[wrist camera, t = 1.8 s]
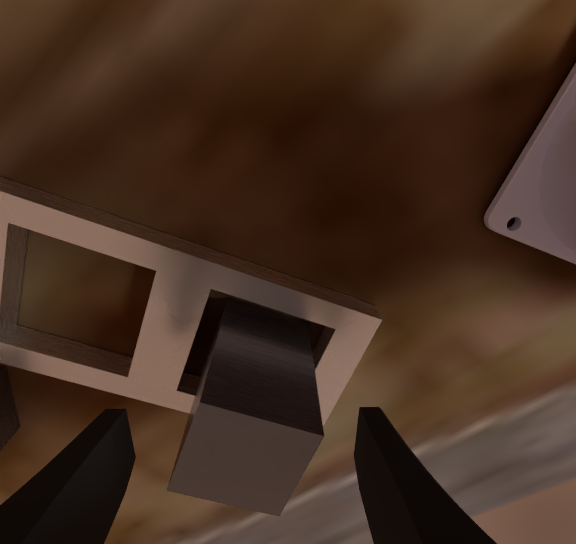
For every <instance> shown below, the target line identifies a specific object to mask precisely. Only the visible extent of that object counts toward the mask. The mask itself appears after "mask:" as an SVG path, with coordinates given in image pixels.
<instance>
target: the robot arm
mask: <svg viewBox="0 0 576 544" xmlns="http://www.w3.org/2000/svg"><path fill="white" fill-rule="evenodd" d="M513 217H515V222H514V224H513V225H512V226H511V227H509V228H507V223H508V221H509V220H510V219H511V218H513ZM484 223H485V225H486V227H488V228H489V229H491V230H492V231H494V232H497V233H499V234H502V235H504V236H507V237H509V238H512V239H514V240H517V241H519V242H522V243H524V244H527V245H529V246H532V247H534V248H537V249H539V250H542V251H544V252H546V253H549V254H551V255H554V256H556V257H559V258H561V259H564V260H566V261H569V262H571V263H574V264H576V63H575V65H574V66H573V68H572V70H571V71H570V73H569V75H568V76H567V78H566V80H565V81H564V83H563V85H562V86H561V88H560V90H559V91H558V93H557V95H556V96H555V98H554V100H553V101H552V103H551V105H550V106H549V108H548V110H547V111H546V113H545V115H544V116H543V118H542V120H541V121H540V123H539V125H538V126H537V128H536V130H535V131H534V133H533V135H532V136H531V138H530V140H529V141H528V143H527V145H526V146H525V148H524V150H523V151H522V153H521V155H520V156H519V158H518V160H517V161H516V163H515V164H514V166H513V168H512V169H511V171H510V173H509V174H508V176H507V178H506V179H505V181H504V183H503V184H502V186H501V188H500V189H499V191H498V193H497V194H496V196H495V198H494V199H493V201H492V203H491V204H490V206H489V208H488V209H487V211H486V213H485V216H484ZM135 458H136V457H135V452H134V447H133V442H132V437H131V432H130V427H129V422H128V417H127V412H126V409H105V410H104V411H103V412H102V413H101V414H100V415H99V416H98V417H97V418H96V419H95V420H94V421H93V422H91V423H90V424H89V425H88V426H87V427H86V428H85V429H84V430H83V431H82V432H81V433H80V434H79V435H78V436H77V437H76V438H75V439H74V440H73V441H72V442H71V443H70V444H69V445H67V446H66V447H65V448H64V449H63V450H62V451H61V452H60V453H59V454H58V455H57V456H56V457H55V458H54V459H52V460H51V461H50V462H49V463H48V464H47V465H46V466H45V467H44V468H43V469H42V470H41V471H39V472H38V473H37V474H36V475H35V476H34V477H33V478H31V479H30V480H29V481H28V482H27V483H26V484H25V485H23V486H22V487H21V488H20V489H19V490H18V491H16V492H15V493H14V494H13V495H12V496H11V497H10V498H8V499H7V500H6V501H5V502H4V503H2V504H1V505H0V544H104V542H105V540H106V538H107V535H108V533H109V530H110V528H111V526H112V523H113V521H114V519H115V516H116V514H117V512H118V509H119V507H120V504H121V502H122V499H123V497H124V495H125V492H126V489H127V485H128V482H129V479H130V476H131V472H132V469H133V465H134V462H135ZM354 459H355V465H356V472H357V478H358V484H359V490H360V494H361V497H362V501H363V505H364V509H365V513H366V516H367V520H368V524H369V527H370V531H371V535H372V539H373V542H374V544H497V543H496V542H495V541H494V540H493V539H491V538H490V537H489V536H488V535H487V534H486V533H485V532H484V531H483V530H482V529H481V528H480V527H479V526H478V525H477V524H476V523H475V522H474V521H473V520H472V519H471V518H470V517H469V516H468V515H467V514H466V513H465V512H464V511H463V510H462V509H461V508H460V507H459V506H458V505H457V503H456V502H455V501H454V500H453V499H452V498H451V497H450V496H449V495H448V494H447V493H446V491H445V490H444V489H443V488H442V487H441V486H440V485H439V483H438V482H437V481H436V480H435V479H434V478H433V477H432V475H431V474H430V473H429V472H428V471H427V469H426V468H425V467H424V466H423V464H422V463H421V462H420V461H419V459H418V458H417V457H416V456H415V454H414V453H413V452H412V451H411V449H410V448H409V447H408V445H407V444H406V443H405V442H404V440H403V439H402V437H401V436H400V435H399V433H398V432H397V431H396V429H395V428H394V427H393V425H392V424H391V422H390V421H389V419H388V418H387V417H386V415H385V414H384V412H383V411H382V410H381V409H380V408H379V407H360V408H359V416H358V425H357V433H356V442H355V450H354Z"/></svg>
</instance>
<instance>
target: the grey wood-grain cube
mask: <svg viewBox="0 0 576 544" xmlns="http://www.w3.org/2000/svg"><path fill="white" fill-rule="evenodd" d="M19 428H20V423H19V419H18V414H17V410H16V406H15V402H14V397H13V393H12V389H11V385H10V380H9V376H8V372H7V368H6V366H0V451H1V450H2V448H3V447H4V446H5V445H6V444H7V442H8V441H9V440H10V439H11V437H12V436H13V435H14V434H15V433H16V431H17V430H18V429H19Z"/></svg>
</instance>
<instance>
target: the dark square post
mask: <svg viewBox="0 0 576 544" xmlns="http://www.w3.org/2000/svg"><path fill="white" fill-rule="evenodd" d="M323 437H324V432H323V424H322V417H321V410H320V403H319V396H318V389H317V382H316V374H315V367H314V360H313V353H312V346H311V339H310V332H309V324H308V322H306V321H303V320H299V319H296V318H293V317H290V316H287V315H284V314H281V313H278V312H275V311H272V310H268V309H265V308H262V307H259V306H256V305H253V304H250V303H247V302H244V301H241V300H238V299H234V298H231V297H228V299H227V302H226V305H225V308H224V310H223V313H222V316H221V319H220V322H219V324H218V327H217V330H216V333H215V335H214V338H213V341H212V344H211V347H210V349H209V352H208V355H207V358H206V361H205V363H204V367H203V370H202V374H201V377H200V380H199V384H198V387H197V390H196V394H195V397H194V400H193V404H192V407H191V411H190V414H189V417H188V421H187V424H186V427H185V431H184V434H183V438H182V441H181V444H180V448H179V451H178V454H177V458H176V461H175V465H174V468H173V471H172V475H171V478H170V481H169V485H168V488H167V491H171V492H175V493H180V494H184V495H188V496H193V497H197V498H201V499H206V500H210V501H214V502H219V503H223V504H228V505H232V506H236V507H241V508H245V509H249V510H254V511H258V512H262V513H267V514H271V515H275V516H280V514H281V512H282V511H283V509H284V507H285V505H286V504H287V502H288V500H289V498H290V496H291V495H292V493H293V491H294V489H295V487H296V486H297V484H298V482H299V480H300V479H301V477H302V475H303V473H304V471H305V470H306V468H307V466H308V464H309V462H310V461H311V459H312V457H313V455H314V454H315V452H316V450H317V448H318V446H319V445H320V443H321V441H322V439H323Z"/></svg>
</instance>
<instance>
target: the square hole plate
mask: <svg viewBox="0 0 576 544" xmlns="http://www.w3.org/2000/svg"><path fill="white" fill-rule="evenodd" d="M28 229H29V230H32V231H35V232H38V233H41V234H44V235H47V236H51V237H54V238H57V239H60V240H63V241H66V242H69V243H72V244H75V245H78V246H81V247H84V248H87V249H90V250H94V251H97V252H100V253H103V254H106V255H109V256H112V257H115V258H118V259H121V260H124V261H127V262H130V263H134V264H137V265H140V266H143V267H146V268H149V269H152V270H155V271H156V274H155V278H154V282H153V285H152V289H151V293H150V297H149V300H148V304H147V308H146V312H145V315H144V319H143V323H142V326H141V330H140V334H139V338H138V341H137V345H136V349H135V352H134V356H133V358H132V357H128V356H125V355H121V354H118V353H114V352H111V351H107V350H104V349H100V348H97V347H93V346H90V345H86V344H83V343H79V342H76V341H72V340H69V339H65V338H61V337H58V336H54V335H51V334H47V333H44V332H40V331H37V330H33V329H30V328H26V327H23V326H19V325H17V320H18V312H19V303H20V295H21V286H22V278H23V269H24V261H25V252H26V244H27V235H28ZM211 289H213V290H217V291H220V292H223V293H226V294H229V295H232V296H235V297H238V298H241V299H244V300H247V301H250V302H253V303H257V304H260V305H263V306H266V307H269V308H272V309H275V310H278V311H281V312H284V313H287V314H290V315H293V316H297V317H300V318H303V319H306V320H309V321H312V322H315V323H318V324H321V325H324V326H326V327H325V329H324V331H323V333H322V335H321V337H320V339H319V341H318V343H317V345H316V347H315V349H314V351H313V360H314V367H315V374H316V382H317V389H318V396H319V403H320V410H321V417H322V424H323V426H324V424H325V422H326V420H327V419H328V417H329V415H330V413H331V411H332V410H333V408H334V406H335V404H336V402H337V401H338V399H339V397H340V395H341V393H342V391H343V390H344V388H345V386H346V384H347V382H348V381H349V379H350V377H351V375H352V373H353V372H354V370H355V368H356V366H357V364H358V363H359V361H360V359H361V357H362V355H363V354H364V352H365V350H366V348H367V346H368V345H369V343H370V341H371V339H372V337H373V336H374V334H375V332H376V330H377V328H378V327H379V325H380V323H381V321H382V318H381V316H380V314H379V312H378V310H377V308H376V306H375V305H373V304H371V303H368V302H365V301H362V300H359V299H356V298H353V297H350V296H347V295H344V294H341V293H338V292H336V291H333V290H330V289H327V288H324V287H321V286H318V285H315V284H312V283H309V282H306V281H304V280H301V279H298V278H295V277H292V276H289V275H286V274H283V273H280V272H277V271H274V270H271V269H269V268H266V267H263V266H260V265H257V264H254V263H251V262H248V261H245V260H242V259H239V258H237V257H234V256H231V255H228V254H225V253H222V252H219V251H216V250H213V249H210V248H207V247H204V246H202V245H199V244H196V243H193V242H190V241H187V240H184V239H181V238H178V237H175V236H172V235H170V234H167V233H164V232H161V231H158V230H155V229H152V228H149V227H146V226H143V225H140V224H137V223H135V222H132V221H129V220H126V219H123V218H120V217H117V216H114V215H111V214H108V213H105V212H103V211H100V210H97V209H94V208H91V207H88V206H85V205H82V204H79V203H76V202H73V201H71V200H68V199H65V198H62V197H59V196H56V195H53V194H50V193H47V192H44V191H41V190H38V189H36V188H33V187H30V186H27V185H24V184H21V183H18V182H15V181H12V180H9V179H6V178H4V177H1V176H0V363H2V364H6V365H9V366H13V367H17V368H21V369H24V370H28V371H32V372H36V373H39V374H43V375H47V376H51V377H55V378H58V379H62V380H66V381H70V382H73V383H77V384H81V385H85V386H88V387H92V388H96V389H100V390H103V391H107V392H111V393H115V394H118V395H122V396H126V397H130V398H133V399H137V400H141V401H145V402H148V403H152V404H156V405H160V406H163V407H167V408H171V409H175V410H179V411H182V412H186V413H190V411H191V407H192V404H193V400H194V397H195V394H196V390H197V387H198V384H199V380H200V377H199V376H195V375H192V374H188V373H185V372H183V371H184V368H185V365H186V362H187V359H188V356H189V353H190V350H191V347H192V345H193V342H194V339H195V336H196V333H197V330H198V327H199V324H200V321H201V318H202V315H203V312H204V309H205V306H206V303H207V300H208V297H209V294H210V291H211Z"/></svg>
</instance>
